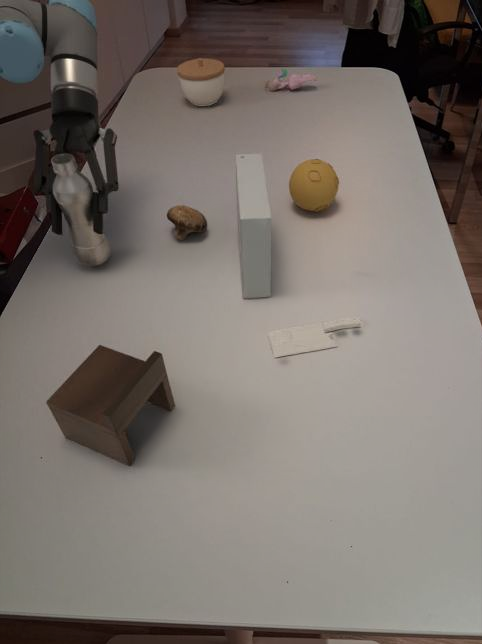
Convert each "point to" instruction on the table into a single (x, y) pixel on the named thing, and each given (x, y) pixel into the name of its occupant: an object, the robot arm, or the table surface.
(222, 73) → the lidded bowl
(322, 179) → the stress ball
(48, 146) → the robot arm
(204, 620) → the table surface
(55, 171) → the plastic bottle
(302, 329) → the white meat cleaver
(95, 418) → the shelf
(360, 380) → the table surface
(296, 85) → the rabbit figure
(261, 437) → the table surface
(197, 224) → the mushroom
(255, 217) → the skincare box
